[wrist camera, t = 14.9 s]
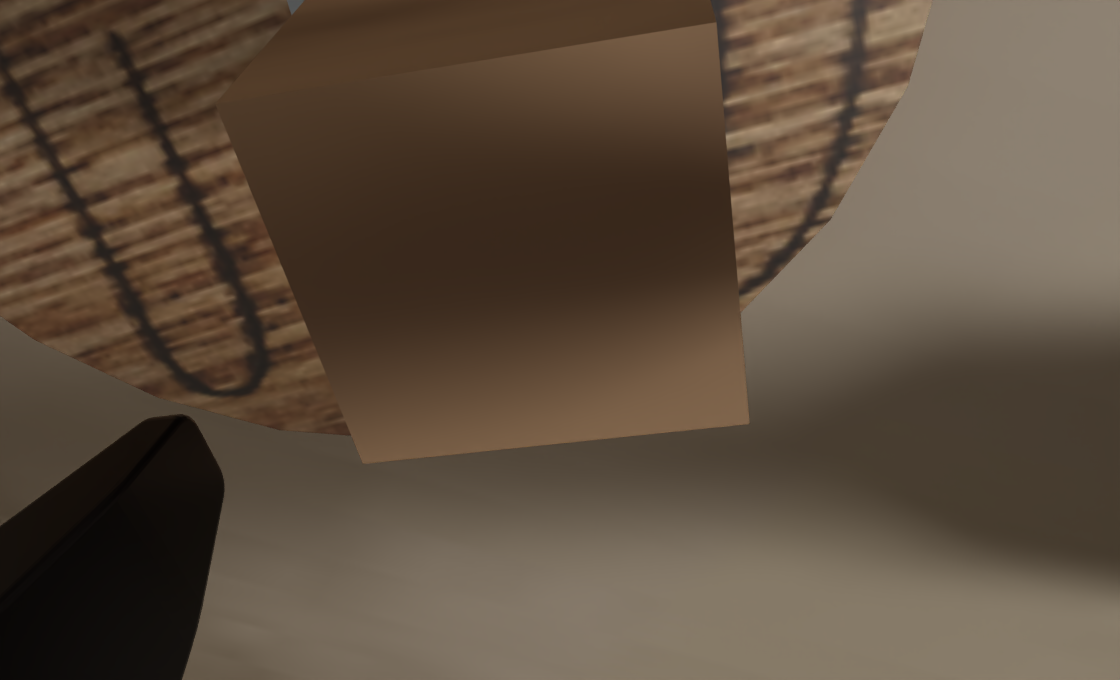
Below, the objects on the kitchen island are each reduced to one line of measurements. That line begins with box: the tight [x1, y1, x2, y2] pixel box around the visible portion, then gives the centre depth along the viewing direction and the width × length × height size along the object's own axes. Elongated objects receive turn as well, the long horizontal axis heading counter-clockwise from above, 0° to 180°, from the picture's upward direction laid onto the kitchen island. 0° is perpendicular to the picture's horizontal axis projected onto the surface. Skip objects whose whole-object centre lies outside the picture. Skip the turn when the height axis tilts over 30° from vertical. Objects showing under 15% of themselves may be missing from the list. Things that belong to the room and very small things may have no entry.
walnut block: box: [215, 0, 750, 464], centre depth 13 cm, size 5×5×5 cm
